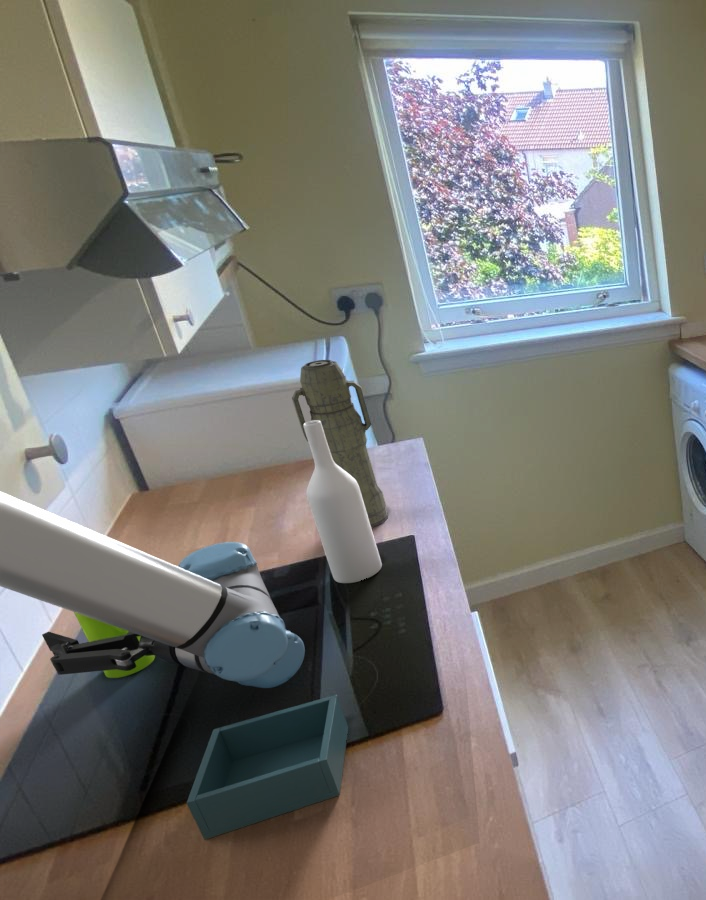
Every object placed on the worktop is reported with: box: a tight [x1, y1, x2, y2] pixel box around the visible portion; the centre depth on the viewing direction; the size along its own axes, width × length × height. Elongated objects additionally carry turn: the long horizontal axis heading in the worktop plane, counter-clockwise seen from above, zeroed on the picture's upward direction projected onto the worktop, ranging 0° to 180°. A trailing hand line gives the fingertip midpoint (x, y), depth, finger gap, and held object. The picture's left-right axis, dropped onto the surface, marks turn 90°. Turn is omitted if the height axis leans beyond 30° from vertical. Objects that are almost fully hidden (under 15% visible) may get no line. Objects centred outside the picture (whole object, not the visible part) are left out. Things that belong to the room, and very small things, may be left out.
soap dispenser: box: [73, 612, 156, 679], centre depth 108 cm, size 6×7×20 cm
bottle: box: [303, 420, 383, 584], centre depth 131 cm, size 8×8×30 cm
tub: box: [186, 694, 349, 841], centre depth 91 cm, size 14×13×6 cm
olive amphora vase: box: [291, 359, 389, 529], centre depth 150 cm, size 9×12×35 cm
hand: (105, 613), depth 108 cm, fingers open, 13 cm apart
